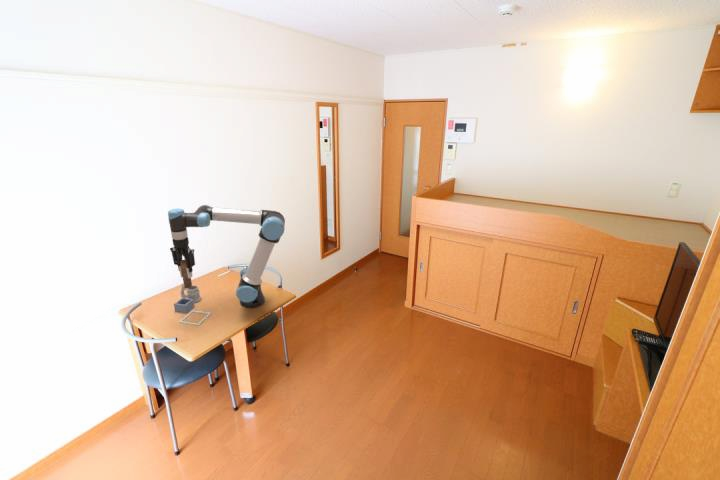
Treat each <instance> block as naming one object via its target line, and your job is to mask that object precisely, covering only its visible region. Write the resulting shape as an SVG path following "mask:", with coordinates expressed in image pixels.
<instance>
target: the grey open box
mask: <svg viewBox="0 0 720 480" xmlns="http://www.w3.org/2000/svg"><path fill="white" fill-rule="evenodd" d="M173 308H174V312H175V313H180V314H181V313H182V314H189V313H190V312H191V311H192V309H194V308H195V303H194V300H193V299H188V298H182V297H181V298H180V299H178V300H176V301H175V302H174V303H173Z"/></svg>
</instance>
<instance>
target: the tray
mask: <svg viewBox="0 0 720 480" xmlns="http://www.w3.org/2000/svg"><path fill="white" fill-rule="evenodd" d="M193 313H195V314H200V315H201V314H202V315H206V316H204V318H202V319H201V320H200V321H199V322H198V323H194V322H189V321H185V320H186V319H187V318H189V316H191V315H192V314H193ZM211 315H212V312H208V311H200V310H192V309H191V310H190V311H189V312H188V313H187V314H186V315H185V316H184V317H183V318H182V319H180V320H179V321H178V322H179V324H185V325H189V326H197V327H199V326H200V325H201V324H203V322H205V321H206V319H208V318H209V317H211Z"/></svg>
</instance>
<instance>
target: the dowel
mask: <svg viewBox="0 0 720 480" xmlns="http://www.w3.org/2000/svg"><path fill="white" fill-rule="evenodd" d="M180 265H181V271H182V277H181V278H182V280H183V283H182V284H184V288H191V287H192V285H193V283H192V277H191V278H188V275H187V269H186V268H187V264H186V261H185V259H182V260H181V261H180Z"/></svg>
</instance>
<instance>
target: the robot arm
mask: <svg viewBox="0 0 720 480" xmlns="http://www.w3.org/2000/svg"><path fill="white" fill-rule="evenodd" d="M167 211H168V210H167ZM167 219H168V222H169V223H168V224H169V227H170V234H171V238H172V240H171V241H172V245H173V246H172V247H170V248H169V250H170V252H171V256H172V261H173V264H174V265H175V266H177V268H178V269H177V270H178V271H179V274H180V278H183V277H182V271H181V265H180V261H181V260H183V258H184V260H185V261H186V264H187V268H186V269H187V275H188V278H191V279H192V277H193V267H194V266H195V265H196V261H195V260H196V259H195V249H194V248H190V245H189V244H190V242H189V241H190V239H189V237H188V229H187V228H205V227H206V228H207V227H210V225H211V222H212V221H214V222H215V221H216V222H230V223H239V224H254V225H259V227H261V228H260V230H259V233H258V237H259V241H258V242H257V245H256V249H255V250H254V253H253V256H252V258H251V260H250V262H249V265H248V267H246V268H242V269H241V270H240V272H239V275H240V279H239V282H238V286H237V287H236V288H237V289H236V291H235V293H236V295H235V296H236V297H237V299H238V300H239V304H240V306H241V307H244V308H247V309H253V308H257V307H261V306H262V305H263V304H264V303H265V300H266V299H265V295H264V293H263V290H262V283H263V281H262V276H263V274H264V271H265V269H266V267H267V264H268V261H269V260H270V257H271V255H272V251H273V249H274V247H275V245H276V244H279V242H280V240H281V237H282V236H283V235H284V233H285V228H286V227H285V224H286V219H285V217H284V215H283V214H282V213H281V212H279V211H276V210H269V209H268V210H267V209H261V210H249V209H247V210H245V209H237V208H236V209H233V208H225V207H224V208H222V207H212V206H211V205H209V204H208V205H207V204H202V205H200V206H198V208H197V209H196V210H195V211H194V212H185V211H184V209H183V208H171V209H169V211H168V212H167Z"/></svg>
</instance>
